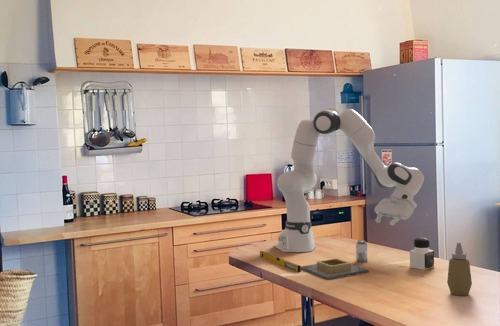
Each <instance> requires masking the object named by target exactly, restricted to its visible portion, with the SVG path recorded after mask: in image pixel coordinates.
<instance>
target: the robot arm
mask: <svg viewBox="0 0 500 326" xmlns="http://www.w3.org/2000/svg"><path fill="white" fill-rule="evenodd" d="M338 130H339V131H341V132H343V133H344V134H345V136H346V138H348V139H349V141H350V142H351V143H352V144H353V145H354V147H355V148H356V149H357V151H358V153H359V155H360V156H361V158H362V159H363V160H364V161H363V162H365V163H366V164H367V166H368V168H369V169H370V170H371V171H372V173H373V175H374V178H375V181H376V183H377V185H378V186H379V187H380V188H381V189H384V190H391V189H393V188H394V187H395V189H394V191H393V192H392V194H391V195H390V197H385V198H383V199H381V200H380V201H379V202H378V204H376V206H375V207H374V212H375V213H376V217H375V220H374V221H375V222H376V223H378V224H380V223H381V221H382V218H383V216H384V217H388V218H393V219H390V221H389V225H390V226H394V225H396V224H397V223H398V222H399V221H400V220H409V218H410V217H411V216H412V214H413V213H414V211H415V209H416V208H417V206H418V204H417V202H416V201H415V200H414V196H415V195H417V194H418V192H419V191H420V190H421V188H422V186H423V183H424V181H425V175H424V174H423V172H422V171H421V170H420V169H418V168H417V167H408V166H406V165H404V164H402V163H400V162H392V163H390V164H389V165H385V164H384V162H383V161H382V160H381V158H380V157H379V155H378V154H377V153H376V151H375V147H374V146H375V141H376V134H375V132H374V129H373V128H372V127H371V125H370V124H369V123H368V122H367V120H366V119H365V118H364V117H363V116H362V115H361V114H359V113H358V112H357V111H356V110H354V109H352V108H348V109H345V110H343V111H342V112H340V113H339V112H338V111H337V110H336V109H333V108H326V109H322V110H321V111H319V112H317V114H316V115H314V117H313V119H303V120H300V122H299V123H298V125H297V128H296V132H295V135H294V138H293V143H292V148H291V153H290V154H291V155H290V157H291V159H292V161H293V170H290V171H286V172H285V171H284V172H283V173H281V174H280V175H279V176H278V177H277V180H276V186H277V189H278V190H279V191H280V193H282V195H283V198H284V200H285V205H286V206H285V207H286V221H284V223H285V228H284V229H283V231H281V233H280V234H278V238H277V239H278V243H275V244H274V245H273V246H274V248H276V249H278V250H279V251H281V252H282V253H308V252H311V251H314V250H315V249H316V247H317V244H315V238H314V232H313V230H312V229H311V228H312V221H311V210H310V209H311V207H310V204H309V202H308V201H307V200H306V197H305V192H308V191H310V190H311V189H313V188H314V187H315V186H316V185H317V182H318V178H317V175H316V173H315V168H314V166H315V165H314V161H315V160H314V159H315V154H316V149H317V146H318V145H317V144H318V141H319V140H318V139H319V136H320V134H322V135H328V134H331V133H333V132H336V131H338Z"/></svg>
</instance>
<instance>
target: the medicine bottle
mask: <svg viewBox="0 0 500 326" xmlns="http://www.w3.org/2000/svg"><path fill="white" fill-rule="evenodd" d="M413 247H414V249H411V250H409V267H410V268H412V269H418V270H421V271H427V270H429V269H432V268H434V267H435V250H433V249H430V240H429V239H428V238H425V237H417V238H415V239H414V240H413Z"/></svg>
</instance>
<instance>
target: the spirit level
mask: <svg viewBox="0 0 500 326" xmlns="http://www.w3.org/2000/svg"><path fill="white" fill-rule="evenodd" d="M259 257H260V258H262V259H263V260H264V259H265V260H267V261H269V262H271V263H274V264H277V265H279V266H282V267H284V268H287V269H290V270H291V271H294V272H296V273H301V272H302V271H301V270H302V269H301V267H302V266H301V265H300V264H297V263H294V262H292V261H289V260H287V259H284V258H279V257H278V256H275V255H274V254H271V253H268V252H265V251H263V250H260V251H259Z"/></svg>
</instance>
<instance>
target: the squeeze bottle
mask: <svg viewBox="0 0 500 326" xmlns="http://www.w3.org/2000/svg"><path fill="white" fill-rule="evenodd" d="M455 247H456V248H455V251H454V252H453V251H452V253H451V258H450V259H449V260H448V261H449V262H448V270H447V271H448V272H447V281H446V282H447V286H448V288H449V291H450V294H452V295H454V296H460V297H462V296H464V297H465V296H467V295H468V296H469V293H470V291H471V288H472V284H473V283H472V275H471V264H470V260H469V259H468V258H467V253H466V252H464V250H463V246H462V242H457V243H456V246H455Z"/></svg>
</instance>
